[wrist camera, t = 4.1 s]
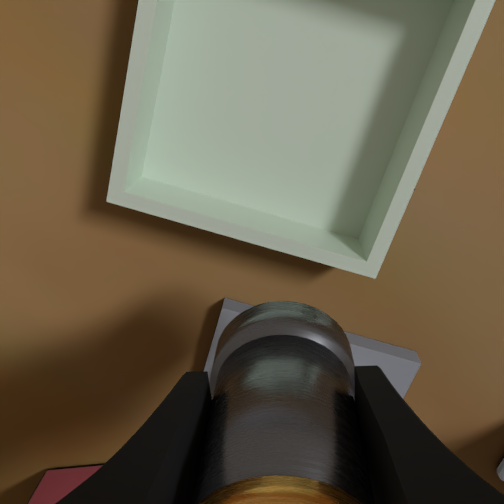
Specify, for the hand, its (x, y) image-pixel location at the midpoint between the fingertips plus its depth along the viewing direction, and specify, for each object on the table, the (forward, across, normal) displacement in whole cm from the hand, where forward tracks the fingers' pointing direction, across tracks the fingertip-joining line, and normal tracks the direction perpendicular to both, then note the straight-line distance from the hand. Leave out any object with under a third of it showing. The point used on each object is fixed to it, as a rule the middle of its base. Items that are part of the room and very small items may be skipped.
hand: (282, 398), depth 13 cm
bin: (+10, 0, -7) cm, 12 cm away
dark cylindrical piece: (+2, 0, 0) cm, 2 cm away
